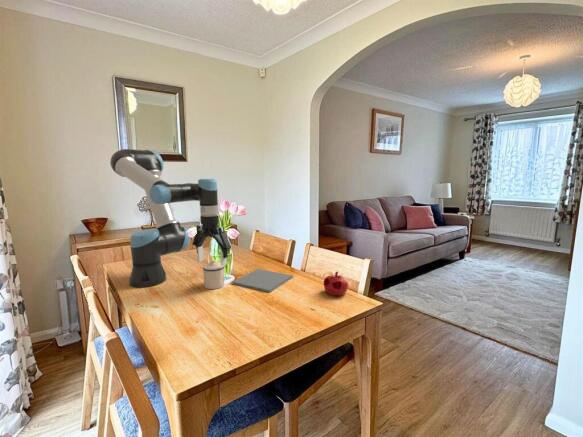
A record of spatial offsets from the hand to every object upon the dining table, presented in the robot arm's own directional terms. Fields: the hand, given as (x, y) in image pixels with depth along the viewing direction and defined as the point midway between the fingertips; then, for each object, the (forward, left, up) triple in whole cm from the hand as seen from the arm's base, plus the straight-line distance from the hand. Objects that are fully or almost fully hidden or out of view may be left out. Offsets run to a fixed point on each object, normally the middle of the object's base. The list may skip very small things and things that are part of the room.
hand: (212, 263), depth 129 cm
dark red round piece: (+51, +18, -10) cm, 55 cm away
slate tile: (+17, +15, -10) cm, 24 cm away
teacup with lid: (0, 0, -10) cm, 10 cm away
